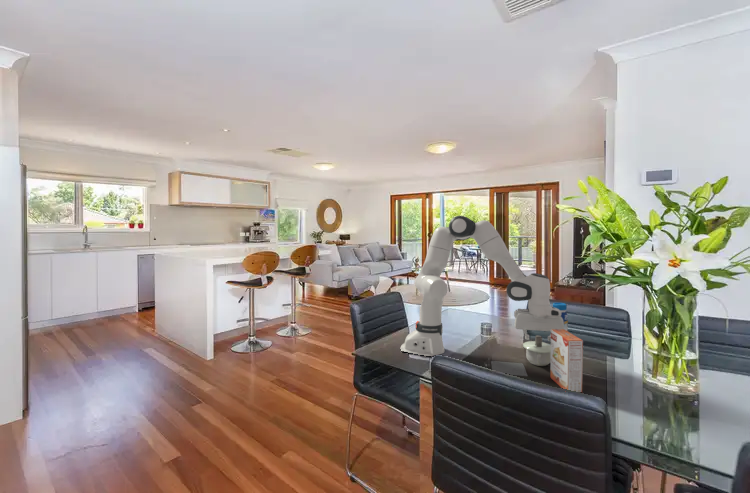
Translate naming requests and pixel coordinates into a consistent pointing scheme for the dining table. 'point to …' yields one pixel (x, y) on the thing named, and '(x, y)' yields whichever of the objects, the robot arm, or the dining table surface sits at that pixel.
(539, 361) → the teacup
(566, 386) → the cracker box
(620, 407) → the dining table surface
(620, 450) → the dining table surface
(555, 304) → the beverage bottle
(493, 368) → the mat
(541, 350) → the lid
